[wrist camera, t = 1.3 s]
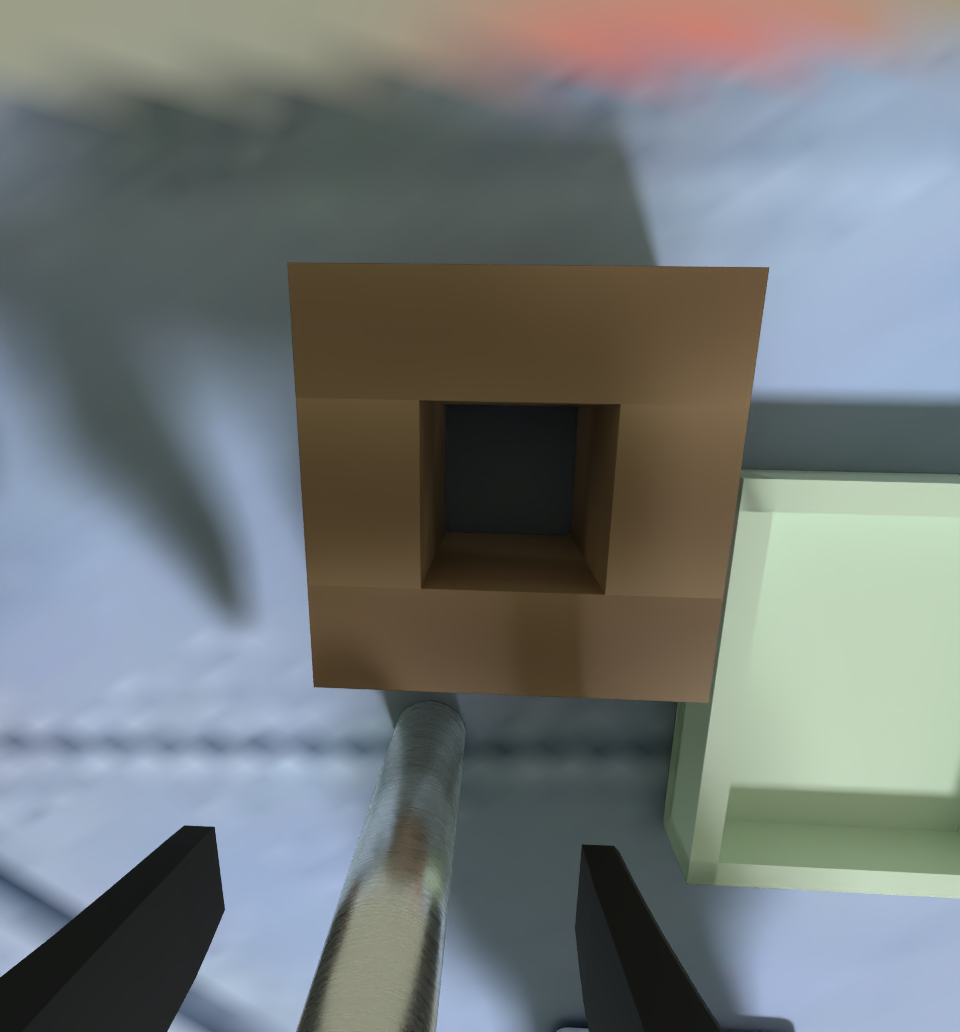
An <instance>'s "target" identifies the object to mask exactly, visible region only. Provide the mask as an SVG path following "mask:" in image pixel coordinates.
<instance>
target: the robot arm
mask: <svg viewBox="0 0 960 1032" xmlns="http://www.w3.org/2000/svg"><path fill="white" fill-rule="evenodd" d="M224 910H225V907H224V899H223V891H222V883H221V875H220V867H219V859H218V851H217V843H216V835H215V827H205V826H183V827H182V828H181V829H180V830H178V831H177V832H176V833H175V834H173V835H172V836H171V837H170V838H169V839H167V840H166V841H165V842H164V843H163V844H161V845H160V846H159V847H158V848H157V849H156V850H154V851H153V852H152V853H151V854H150V855H149V856H147V857H146V858H145V859H144V860H143V861H141V862H140V863H139V864H138V865H137V866H136V867H134V868H133V869H132V870H131V871H130V872H129V873H127V874H126V875H125V876H124V877H123V878H121V879H120V880H119V881H118V882H117V883H116V884H114V885H113V886H112V887H111V888H110V889H109V890H107V891H106V892H105V893H104V894H103V895H101V896H100V897H99V898H98V899H97V900H95V901H94V902H93V903H92V904H91V905H89V906H88V907H87V908H86V909H85V910H83V911H82V912H81V913H80V914H79V915H77V916H76V917H75V918H74V919H73V920H71V921H70V922H69V923H68V924H67V925H65V926H64V927H63V928H62V929H61V930H59V931H58V932H57V933H56V934H55V935H53V936H52V937H51V938H50V939H48V940H47V941H46V942H45V943H43V944H42V945H41V946H40V947H38V948H37V949H36V950H35V951H33V952H32V953H31V954H29V955H28V956H27V957H26V958H24V959H23V960H22V961H21V962H19V963H18V964H17V965H16V966H14V967H13V968H12V969H10V970H9V971H8V972H7V973H5V974H4V975H3V976H2V977H0V1032H167V1031H168V1029H169V1027H170V1025H171V1023H172V1021H173V1020H174V1018H175V1016H176V1014H177V1012H178V1010H179V1008H180V1006H181V1005H182V1003H183V1001H184V999H185V997H186V995H187V993H188V991H189V990H190V988H191V986H192V984H193V982H194V980H195V978H196V976H197V974H198V971H199V969H200V967H201V964H202V962H203V960H204V958H205V955H206V953H207V951H208V949H209V946H210V944H211V942H212V939H213V937H214V934H215V932H216V930H217V927H218V925H219V922H220V920H221V918H222V915H223V913H224ZM575 932H576V941H577V950H578V959H579V968H580V977H581V986H582V994H583V1002H584V1007H585V1013H586V1018H587V1023H588V1029H587V1028H571V1027H566V1028H561V1029H559V1030H557V1031H556V1032H724V1031H723V1030H722V1028H721V1027H720V1025H719V1024H718V1022H717V1021H716V1019H715V1018H714V1016H713V1015H712V1013H711V1012H710V1010H709V1008H708V1007H707V1005H706V1004H705V1002H704V1000H703V999H702V997H701V996H700V994H699V993H698V991H697V989H696V988H695V986H694V984H693V983H692V981H691V979H690V978H689V976H688V975H687V973H686V971H685V970H684V968H683V966H682V965H681V963H680V961H679V960H678V958H677V956H676V955H675V953H674V951H673V950H672V948H671V947H670V945H669V943H668V941H667V940H666V938H665V936H664V934H663V933H662V931H661V929H660V928H659V926H658V924H657V922H656V920H655V919H654V917H653V915H652V913H651V912H650V910H649V908H648V906H647V904H646V903H645V901H644V899H643V897H642V895H641V893H640V891H639V890H638V888H637V886H636V884H635V882H634V880H633V878H632V876H631V874H630V872H629V870H628V868H627V866H626V864H625V862H624V860H623V858H622V856H621V854H620V852H619V851H618V850H617V849H616V848H615V847H614V846H603V845H582V851H581V863H580V875H579V887H578V899H577V912H576V924H575Z"/></svg>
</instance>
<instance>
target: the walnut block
mask: <svg viewBox="0 0 960 1032" xmlns="http://www.w3.org/2000/svg"><path fill="white" fill-rule="evenodd" d="M287 263H288V279H289V295H290V311H291V328H292V344H293V360H294V376H295V392H296V408H297V424H298V440H299V456H300V472H301V489H302V505H303V521H304V537H305V553H306V569H307V585H308V601H309V617H310V634H311V650H312V666H313V682H314V687H324V688H349V689H374V690H399V691H423V692H448V693H473V694H498V695H523V696H548V697H573V698H598V699H623V700H648V701H673V702H698V703H709V695H710V688H711V681H712V674H713V667H714V660H715V652H716V645H717V638H718V631H719V624H720V617H721V609H722V602H723V595H724V588H725V581H726V574H727V566H728V559H729V552H730V545H731V538H732V531H733V523H734V516H735V509H736V502H737V495H738V488H739V480H740V473H741V466H742V459H743V452H744V445H745V438H746V430H747V423H748V416H749V409H750V402H751V395H752V387H753V380H754V373H755V366H756V359H757V352H758V344H759V337H760V330H761V323H762V316H763V309H764V301H765V294H766V287H767V280H768V273H769V267H675V266H578V265H482V264H386V263H289V262H287ZM446 404H455V405H505V406H555V407H579V410H578V426H577V441H576V457H575V473H574V489H573V504H572V520H571V536H565V535H530V534H496V533H461V532H446Z"/></svg>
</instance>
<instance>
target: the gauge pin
mask: <svg viewBox="0 0 960 1032" xmlns="http://www.w3.org/2000/svg"><path fill="white" fill-rule="evenodd" d="M465 736H466V731H465V725H464V723H463V721H462V719H461V717H460V716H459V714H458V713H457V712H456V711H455V710H453V709H452V708H451V707H449V706H447V705H445V704H443V703H440V702H435V701H423V702H419V703H416V704H413V705H411V706H409V707H408V708H407V709H405V710H404V711H403V712H402V714H401V715H400V717H399V719H398V721H397V724H396V727H395V730H394V733H393V736H392V739H391V742H390V745H389V748H388V751H387V754H386V758H385V761H384V764H383V767H382V770H381V773H380V776H379V779H378V782H377V785H376V788H375V791H374V794H373V797H372V800H371V803H370V807H369V810H368V813H367V816H366V819H365V822H364V825H363V828H362V831H361V834H360V837H359V840H358V843H357V846H356V849H355V852H354V856H353V859H352V862H351V865H350V868H349V871H348V874H347V877H346V880H345V883H344V886H343V889H342V892H341V895H340V898H339V902H338V905H337V908H336V911H335V914H334V917H333V920H332V923H331V926H330V929H329V932H328V935H327V938H326V941H325V944H324V947H323V951H322V954H321V957H320V960H319V963H318V966H317V969H316V972H315V975H314V978H313V981H312V984H311V987H310V990H309V993H308V996H307V1000H306V1003H305V1006H304V1009H303V1012H302V1015H301V1018H300V1021H299V1024H298V1027H297V1030H296V1032H436V1025H437V1015H438V1005H439V995H440V985H441V975H442V965H443V955H444V945H445V935H446V925H447V915H448V905H449V895H450V885H451V875H452V866H453V856H454V846H455V836H456V826H457V816H458V806H459V796H460V786H461V776H462V766H463V756H464V746H465Z"/></svg>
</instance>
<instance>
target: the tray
mask: <svg viewBox="0 0 960 1032" xmlns="http://www.w3.org/2000/svg"><path fill="white" fill-rule="evenodd" d="M663 826H664V828H665V831H666V833H667V836H668V838H669V841H670V843H671V846H672V848H673V851H674V853H675V856H676V858H677V861H678V863H679V866H680V868H681V871H682V873H683V876H684V879H685V881H686V884H697V885H716V886H735V887H754V888H774V889H793V890H812V891H831V892H850V893H869V894H888V895H907V896H926V897H945V898H960V474H920V473H878V472H837V471H795V470H754V469H741V473H740V480H739V488H738V495H737V502H736V509H735V516H734V523H733V531H732V538H731V545H730V552H729V559H728V566H727V574H726V581H725V588H724V595H723V602H722V609H721V617H720V624H719V631H718V638H717V645H716V652H715V660H714V667H713V674H712V681H711V688H710V695H709V703H698V702H678V704H677V712H676V720H675V728H674V736H673V744H672V752H671V760H670V768H669V777H668V785H667V793H666V801H665V809H664V817H663Z"/></svg>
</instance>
